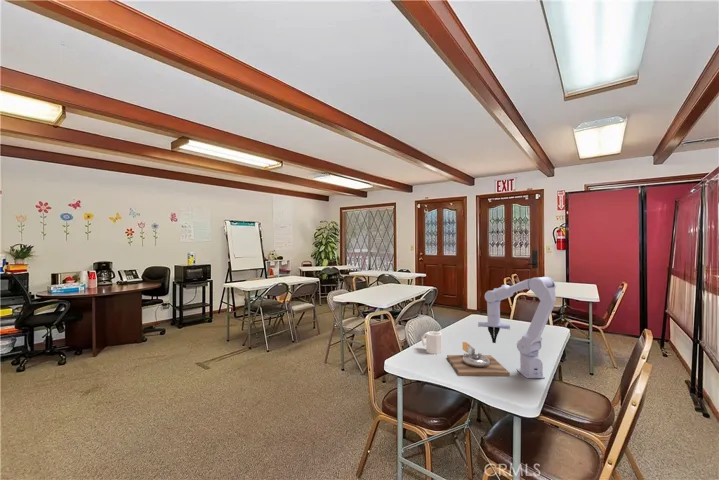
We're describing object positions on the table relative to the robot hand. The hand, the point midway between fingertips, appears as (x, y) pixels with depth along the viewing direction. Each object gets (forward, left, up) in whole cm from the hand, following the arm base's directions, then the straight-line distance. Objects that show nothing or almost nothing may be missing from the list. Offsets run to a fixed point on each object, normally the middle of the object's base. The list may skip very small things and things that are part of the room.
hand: (494, 342), depth 158 cm
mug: (+15, +28, -10) cm, 33 cm away
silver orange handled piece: (-3, +12, -7) cm, 14 cm away
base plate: (-7, +11, -9) cm, 16 cm away
